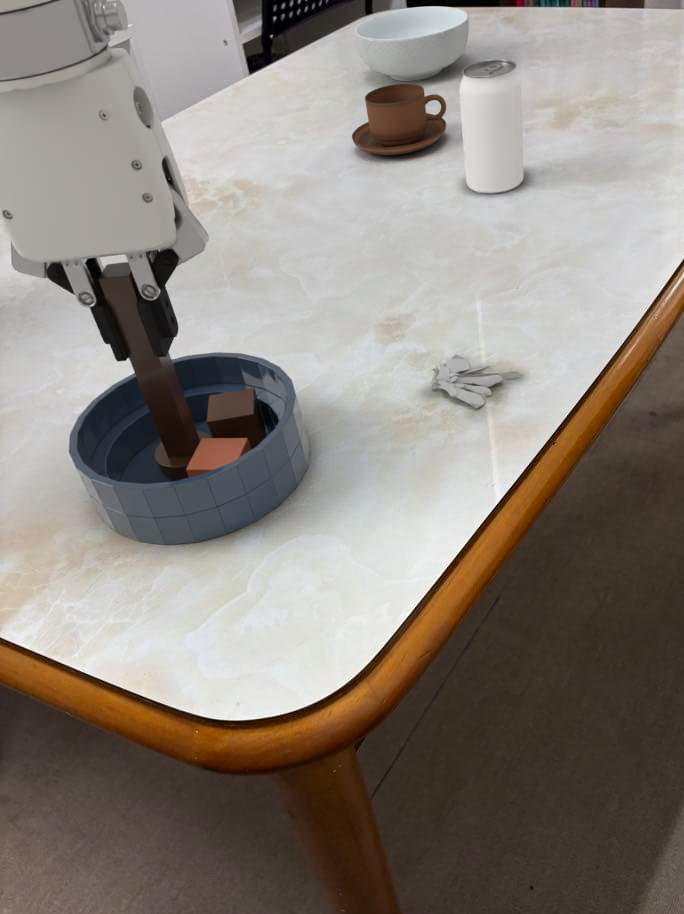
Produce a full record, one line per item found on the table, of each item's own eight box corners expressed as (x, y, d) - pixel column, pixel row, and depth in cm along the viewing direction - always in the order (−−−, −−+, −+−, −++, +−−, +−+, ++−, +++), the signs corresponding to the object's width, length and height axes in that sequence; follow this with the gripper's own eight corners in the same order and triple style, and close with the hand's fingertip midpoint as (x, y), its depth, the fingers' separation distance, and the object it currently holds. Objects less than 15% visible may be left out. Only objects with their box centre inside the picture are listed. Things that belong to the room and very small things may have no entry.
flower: (509, 362, 72) (513, 333, 70) (534, 416, 66) (539, 385, 64) (421, 366, 71) (422, 337, 69) (438, 421, 65) (440, 390, 63)
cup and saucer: (421, 121, 115) (416, 71, 111) (464, 145, 107) (460, 91, 102) (340, 145, 112) (331, 94, 108) (377, 171, 104) (369, 118, 100)
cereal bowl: (373, 99, 124) (366, 45, 119) (352, 70, 136) (344, 20, 131) (485, 75, 125) (482, 21, 121) (454, 49, 138) (450, -2, 133)
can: (455, 191, 97) (445, 75, 88) (485, 169, 100) (478, 56, 92) (505, 198, 93) (500, 79, 85) (534, 175, 97) (531, 59, 89)
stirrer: (153, 482, 62) (73, 290, 52) (166, 444, 65) (93, 257, 55) (211, 477, 62) (143, 283, 51) (222, 440, 65) (159, 250, 55)
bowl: (70, 558, 59) (37, 499, 56) (127, 420, 71) (103, 363, 67) (299, 539, 58) (281, 476, 54) (319, 401, 70) (305, 342, 66)
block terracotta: (200, 507, 61) (185, 469, 58) (215, 475, 63) (201, 437, 61) (246, 507, 60) (233, 469, 58) (260, 475, 63) (248, 437, 60)
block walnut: (219, 459, 65) (206, 422, 62) (221, 432, 67) (208, 395, 65) (265, 451, 65) (253, 413, 62) (265, 424, 67) (254, 387, 65)
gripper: (192, 1, 46) (270, 308, 59) (-83, 40, 48) (51, 331, 60) (161, 38, 41) (255, 367, 54) (-148, 81, 42) (15, 391, 55)
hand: (146, 346), depth 57 cm, fingers closed on stirrer, 2 cm apart
